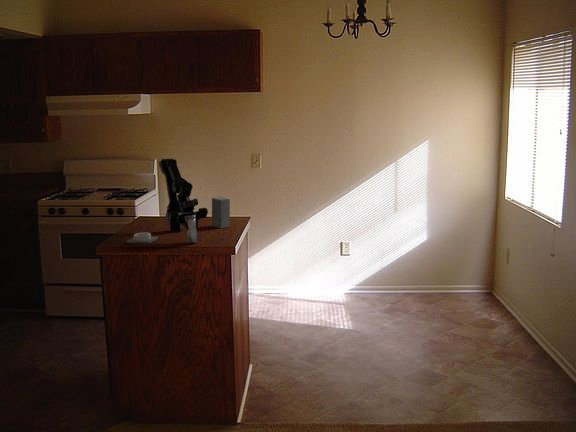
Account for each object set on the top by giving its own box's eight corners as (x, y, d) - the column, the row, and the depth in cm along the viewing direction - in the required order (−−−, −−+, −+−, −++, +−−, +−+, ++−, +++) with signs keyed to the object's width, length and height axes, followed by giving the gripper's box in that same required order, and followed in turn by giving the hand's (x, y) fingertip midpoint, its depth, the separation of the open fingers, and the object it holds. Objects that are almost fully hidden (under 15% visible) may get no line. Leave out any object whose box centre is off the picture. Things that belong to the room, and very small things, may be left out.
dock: (136, 237, 327) (135, 231, 326) (158, 238, 324) (157, 232, 324) (126, 242, 316) (126, 236, 315) (149, 243, 314) (148, 237, 313)
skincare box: (211, 226, 347) (209, 198, 344) (221, 224, 352) (220, 196, 349) (221, 228, 341) (219, 199, 338) (231, 226, 346) (230, 197, 343)
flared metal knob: (189, 240, 314) (187, 214, 311) (199, 240, 313) (197, 214, 310) (185, 242, 309) (184, 216, 306) (195, 242, 308) (194, 216, 305)
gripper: (168, 195, 305) (175, 221, 298) (205, 191, 313) (213, 217, 305) (165, 208, 314) (172, 234, 307) (201, 204, 322) (209, 230, 314)
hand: (192, 228), depth 308 cm, fingers closed on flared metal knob, 4 cm apart
